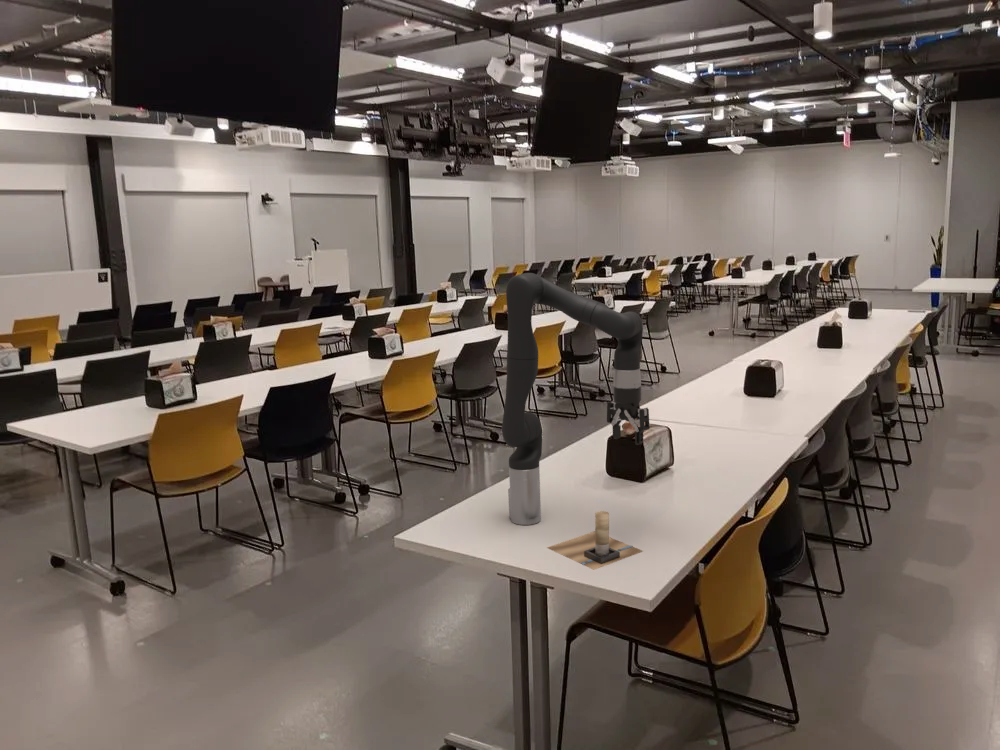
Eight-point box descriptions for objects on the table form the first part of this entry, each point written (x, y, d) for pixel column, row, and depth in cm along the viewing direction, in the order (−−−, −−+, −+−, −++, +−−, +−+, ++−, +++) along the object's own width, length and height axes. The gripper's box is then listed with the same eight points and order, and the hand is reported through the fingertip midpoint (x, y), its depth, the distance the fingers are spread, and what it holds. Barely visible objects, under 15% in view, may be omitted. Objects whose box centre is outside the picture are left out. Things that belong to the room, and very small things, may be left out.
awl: (592, 556, 208) (592, 513, 206) (602, 552, 211) (602, 510, 208) (601, 560, 206) (601, 517, 203) (611, 557, 208) (611, 514, 205)
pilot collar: (584, 556, 209) (584, 551, 208) (602, 549, 213) (602, 544, 212) (601, 564, 203) (601, 558, 203) (619, 557, 207) (619, 552, 207)
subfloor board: (546, 552, 216) (546, 547, 216) (595, 536, 226) (595, 530, 226) (594, 575, 201) (593, 569, 200) (643, 556, 211) (643, 550, 211)
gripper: (599, 383, 221) (600, 439, 224) (636, 390, 209) (636, 449, 212) (618, 379, 225) (619, 434, 228) (655, 386, 214) (656, 443, 216)
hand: (627, 441), depth 220 cm, fingers open, 8 cm apart
